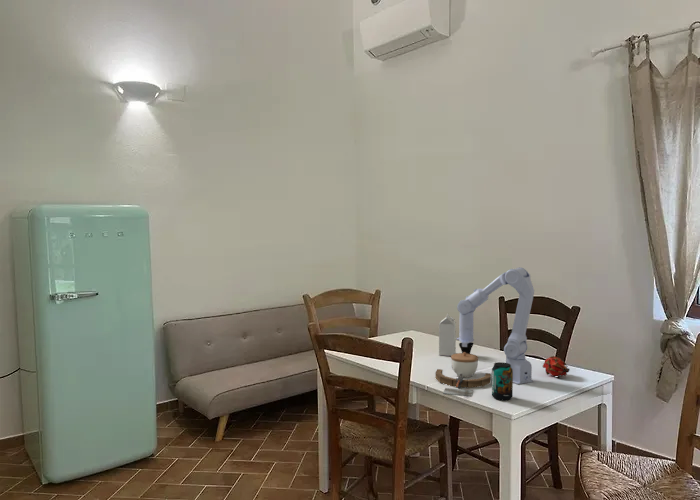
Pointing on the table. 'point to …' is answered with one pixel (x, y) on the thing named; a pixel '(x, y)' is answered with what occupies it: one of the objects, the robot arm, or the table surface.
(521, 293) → the robot arm
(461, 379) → the indicator
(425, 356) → the table surface
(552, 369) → the dragon fruit
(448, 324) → the milk carton
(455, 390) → the yoke
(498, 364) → the beverage can
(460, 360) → the lidded jar
